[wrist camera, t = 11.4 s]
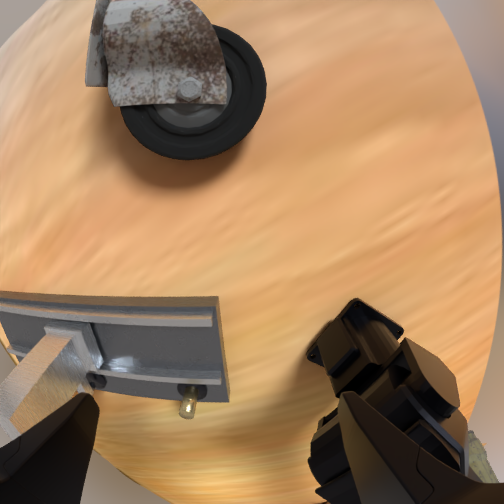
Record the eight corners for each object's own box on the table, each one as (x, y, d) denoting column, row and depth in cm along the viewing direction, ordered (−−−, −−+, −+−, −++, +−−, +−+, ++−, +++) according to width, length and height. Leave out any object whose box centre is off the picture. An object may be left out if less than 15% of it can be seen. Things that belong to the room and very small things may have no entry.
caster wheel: (248, 149, 19) (114, 148, 18) (265, 8, 14) (125, 8, 12) (264, 173, 14) (76, 173, 12) (289, -26, 8) (92, -22, 6)
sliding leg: (89, 322, 19) (13, 420, 8) (115, 386, 21) (70, 481, 11) (52, 318, 19) (-22, 399, 8) (79, 379, 21) (30, 462, 11)
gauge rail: (218, 296, 20) (210, 331, 16) (229, 390, 23) (226, 428, 19) (-2, 290, 20) (-26, 308, 16) (29, 363, 24) (11, 384, 19)
